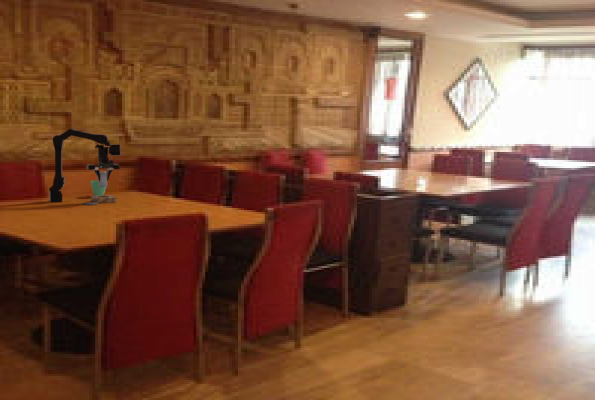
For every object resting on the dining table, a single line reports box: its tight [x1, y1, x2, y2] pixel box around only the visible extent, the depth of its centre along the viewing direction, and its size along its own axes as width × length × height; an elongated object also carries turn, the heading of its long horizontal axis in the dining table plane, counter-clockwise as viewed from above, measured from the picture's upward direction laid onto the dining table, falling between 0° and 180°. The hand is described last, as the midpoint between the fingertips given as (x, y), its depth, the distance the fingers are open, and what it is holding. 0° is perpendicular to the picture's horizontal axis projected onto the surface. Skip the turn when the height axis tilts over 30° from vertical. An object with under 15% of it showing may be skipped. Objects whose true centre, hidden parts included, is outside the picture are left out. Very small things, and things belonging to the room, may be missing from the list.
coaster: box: [81, 201, 99, 206], centre depth 371 cm, size 9×9×1 cm
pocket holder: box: [90, 194, 117, 204], centre depth 383 cm, size 12×12×3 cm
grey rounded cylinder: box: [99, 171, 108, 188], centre depth 381 cm, size 4×4×9 cm
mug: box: [90, 180, 107, 196], centre depth 406 cm, size 15×10×10 cm
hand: (103, 181), depth 382 cm, fingers closed on grey rounded cylinder, 4 cm apart
